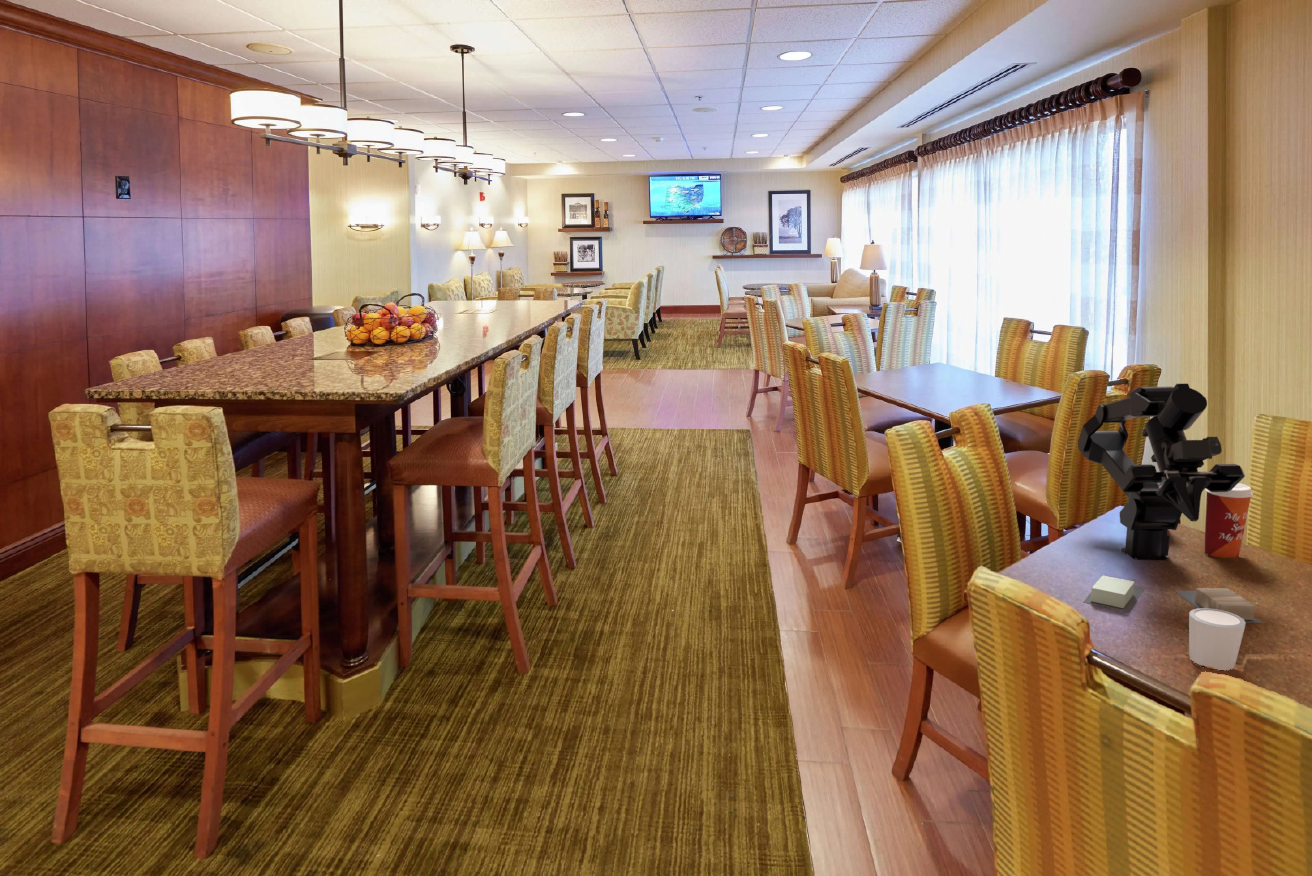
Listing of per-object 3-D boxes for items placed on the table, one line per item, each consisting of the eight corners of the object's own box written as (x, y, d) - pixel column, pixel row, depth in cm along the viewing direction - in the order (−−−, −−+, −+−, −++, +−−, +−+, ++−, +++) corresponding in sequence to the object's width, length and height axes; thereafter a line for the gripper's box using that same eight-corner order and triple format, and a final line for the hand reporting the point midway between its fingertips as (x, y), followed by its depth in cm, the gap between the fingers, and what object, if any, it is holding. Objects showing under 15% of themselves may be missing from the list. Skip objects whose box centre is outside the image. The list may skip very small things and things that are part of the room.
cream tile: (1196, 588, 142) (1221, 605, 135) (1227, 588, 142) (1254, 605, 134) (1195, 602, 143) (1220, 620, 135) (1226, 602, 142) (1253, 620, 135)
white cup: (1185, 646, 128) (1190, 603, 127) (1240, 657, 125) (1246, 613, 123) (1182, 665, 123) (1187, 620, 121) (1239, 677, 119) (1245, 631, 118)
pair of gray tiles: (1098, 623, 137) (1099, 619, 137) (1060, 581, 154) (1060, 578, 154) (1263, 627, 134) (1263, 623, 134) (1205, 583, 151) (1205, 580, 151)
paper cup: (1230, 564, 160) (1239, 493, 157) (1189, 552, 167) (1197, 484, 164) (1254, 556, 164) (1263, 486, 161) (1212, 545, 170) (1220, 478, 167)
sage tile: (1102, 575, 149) (1091, 587, 143) (1134, 581, 146) (1124, 594, 140) (1101, 588, 149) (1090, 601, 144) (1133, 595, 146) (1123, 608, 141)
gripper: (1133, 420, 150) (1158, 498, 141) (1245, 419, 148) (1276, 498, 139) (1110, 453, 159) (1132, 528, 150) (1214, 453, 157) (1242, 528, 149)
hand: (1195, 520), depth 147 cm, fingers closed
